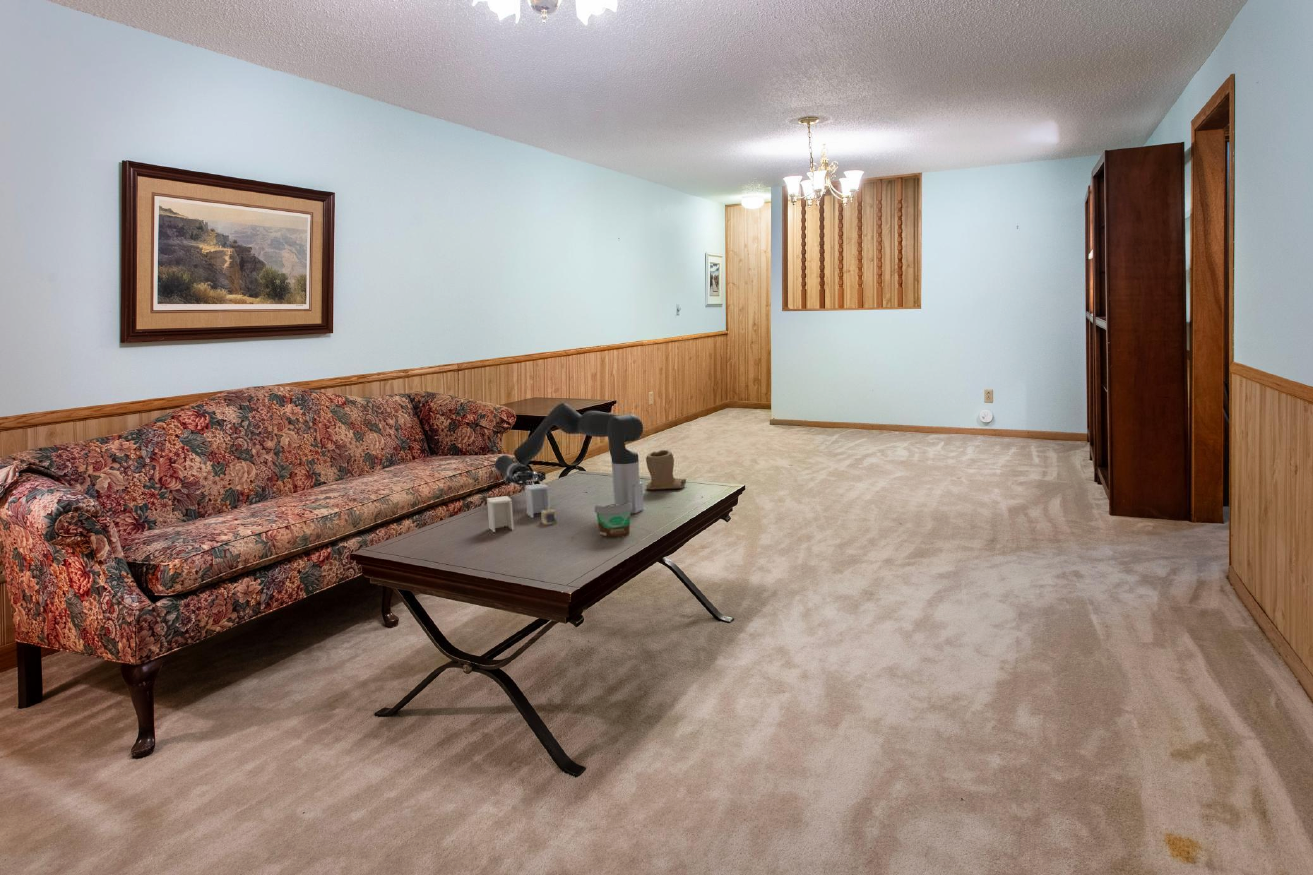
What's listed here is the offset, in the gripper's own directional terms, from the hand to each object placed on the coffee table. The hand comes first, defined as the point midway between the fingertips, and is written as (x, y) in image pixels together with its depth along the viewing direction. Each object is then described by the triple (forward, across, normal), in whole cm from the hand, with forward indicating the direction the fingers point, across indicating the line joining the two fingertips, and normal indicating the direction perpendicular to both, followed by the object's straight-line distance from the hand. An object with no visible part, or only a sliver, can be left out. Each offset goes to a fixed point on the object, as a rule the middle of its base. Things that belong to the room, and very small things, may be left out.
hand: (530, 480), depth 302 cm
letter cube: (+23, 0, +11) cm, 26 cm away
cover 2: (+10, 0, +10) cm, 15 cm away
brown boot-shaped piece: (-2, +53, +11) cm, 54 cm away
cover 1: (+23, -17, +11) cm, 30 cm away
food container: (+52, +13, +11) cm, 55 cm away
